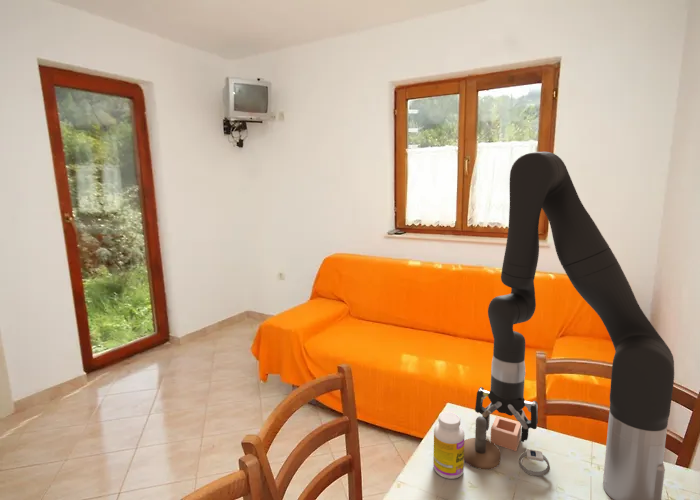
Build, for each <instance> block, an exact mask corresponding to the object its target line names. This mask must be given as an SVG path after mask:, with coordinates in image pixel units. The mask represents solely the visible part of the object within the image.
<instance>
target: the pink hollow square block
mask: <svg viewBox="0 0 700 500" xmlns="http://www.w3.org/2000/svg"><path fill="white" fill-rule="evenodd" d="M521 429H522V425H521V424H520V422H519V421H517V420H513V419H510V418H505V417H501V416H498V415H496V416H495V419H494V420H493V423H492V425H491V427H490V442H492V443H493V444H495V445H496V446H499V447H502V448H505V449H508V450H511V451H515V452H517V451H518V448H519V444H520V442H521Z"/></svg>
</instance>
